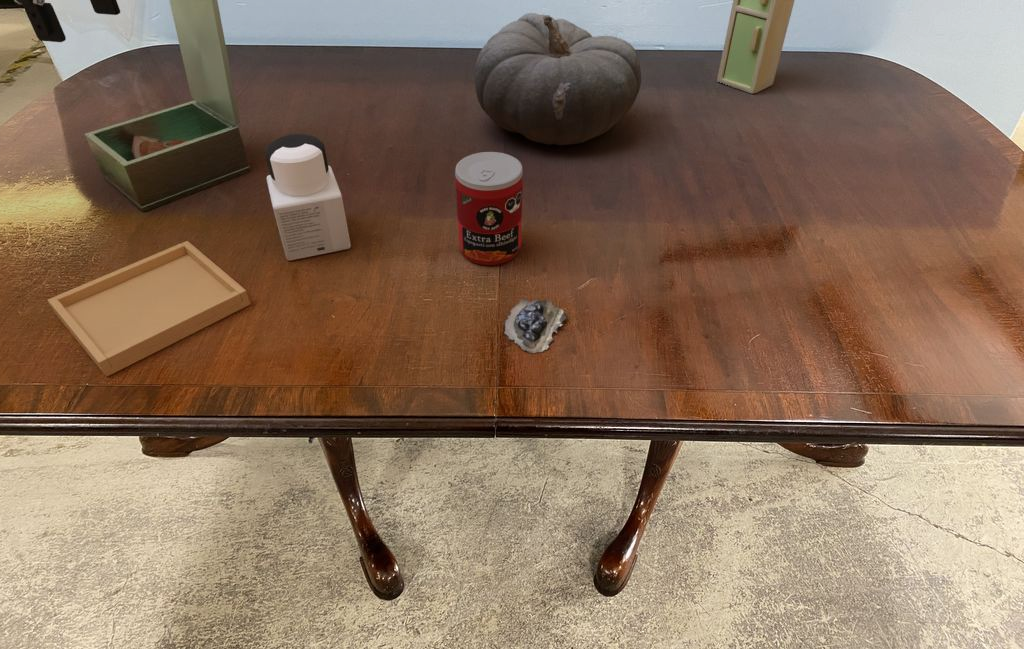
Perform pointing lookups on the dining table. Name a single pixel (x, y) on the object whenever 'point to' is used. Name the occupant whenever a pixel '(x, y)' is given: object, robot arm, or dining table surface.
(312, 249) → the container
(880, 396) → the dining table surface
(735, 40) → the toy refrigerator
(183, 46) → the bin lid
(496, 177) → the canned food
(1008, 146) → the dining table surface
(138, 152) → the fruit slice
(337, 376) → the dining table surface
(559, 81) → the gourd
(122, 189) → the bin
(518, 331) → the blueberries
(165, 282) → the tray
